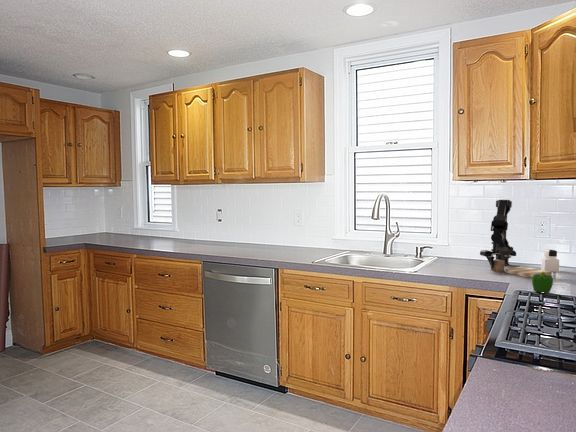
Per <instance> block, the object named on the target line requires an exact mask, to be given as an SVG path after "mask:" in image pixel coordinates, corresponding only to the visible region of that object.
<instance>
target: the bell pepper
mask: <svg viewBox="0 0 576 432" xmlns="http://www.w3.org/2000/svg"><path fill="white" fill-rule="evenodd" d="M531 283H532V284H531V285H532V288H533V291H534V292H535V291H538V292H537V293H539V292H544V293H547V294H549V293H550V292H551V290H552V288H553V284H554V279H553V276H552V275H550V276H547V275H545V272H542V273H541V275H539V274H535V275H533V277H532V278H531ZM544 293H543V294H544Z"/></svg>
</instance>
